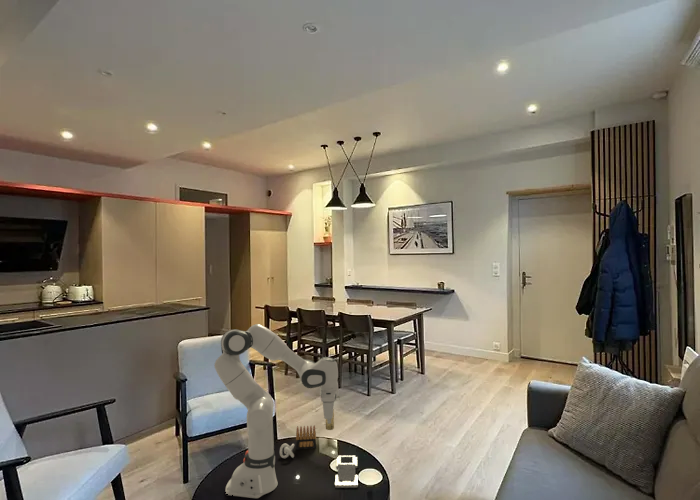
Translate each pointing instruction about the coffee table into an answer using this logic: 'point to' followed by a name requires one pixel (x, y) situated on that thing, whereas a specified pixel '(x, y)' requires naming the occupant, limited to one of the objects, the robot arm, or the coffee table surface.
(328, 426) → the hinge pin
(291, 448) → the knot
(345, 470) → the hinge
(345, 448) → the coffee table surface
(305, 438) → the ammunition clip
